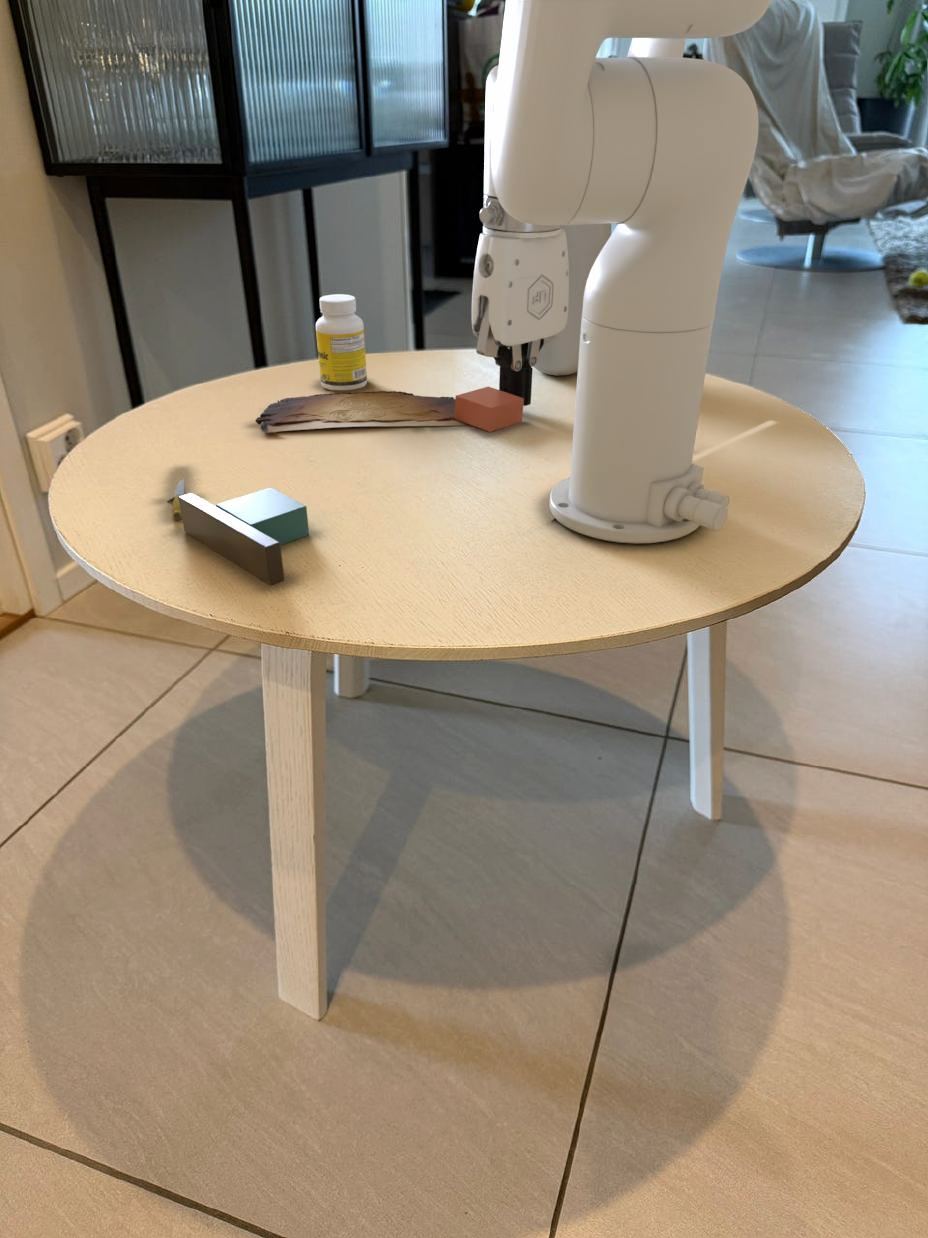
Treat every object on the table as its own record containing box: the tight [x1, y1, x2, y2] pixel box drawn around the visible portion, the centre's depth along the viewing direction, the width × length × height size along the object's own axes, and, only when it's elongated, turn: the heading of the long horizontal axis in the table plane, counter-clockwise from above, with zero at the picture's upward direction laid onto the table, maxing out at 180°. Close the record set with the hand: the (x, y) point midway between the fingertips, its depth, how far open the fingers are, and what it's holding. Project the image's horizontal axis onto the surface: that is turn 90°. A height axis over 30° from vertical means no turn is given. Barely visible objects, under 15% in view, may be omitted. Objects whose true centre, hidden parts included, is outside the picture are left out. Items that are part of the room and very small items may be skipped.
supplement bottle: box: [315, 293, 368, 391], centre depth 99 cm, size 5×5×10 cm
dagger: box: [167, 478, 187, 521], centre depth 75 cm, size 11×1×2 cm
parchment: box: [255, 390, 471, 433], centre depth 92 cm, size 25×10×1 cm, turn 98°
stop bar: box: [178, 492, 285, 586], centre depth 65 cm, size 12×1×3 cm, turn 45°
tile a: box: [215, 486, 310, 546], centre depth 68 cm, size 5×5×2 cm
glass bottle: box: [533, 223, 612, 377], centre depth 99 cm, size 10×10×28 cm
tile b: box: [455, 386, 524, 433], centre depth 90 cm, size 5×5×2 cm
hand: (514, 403), depth 93 cm, fingers closed
